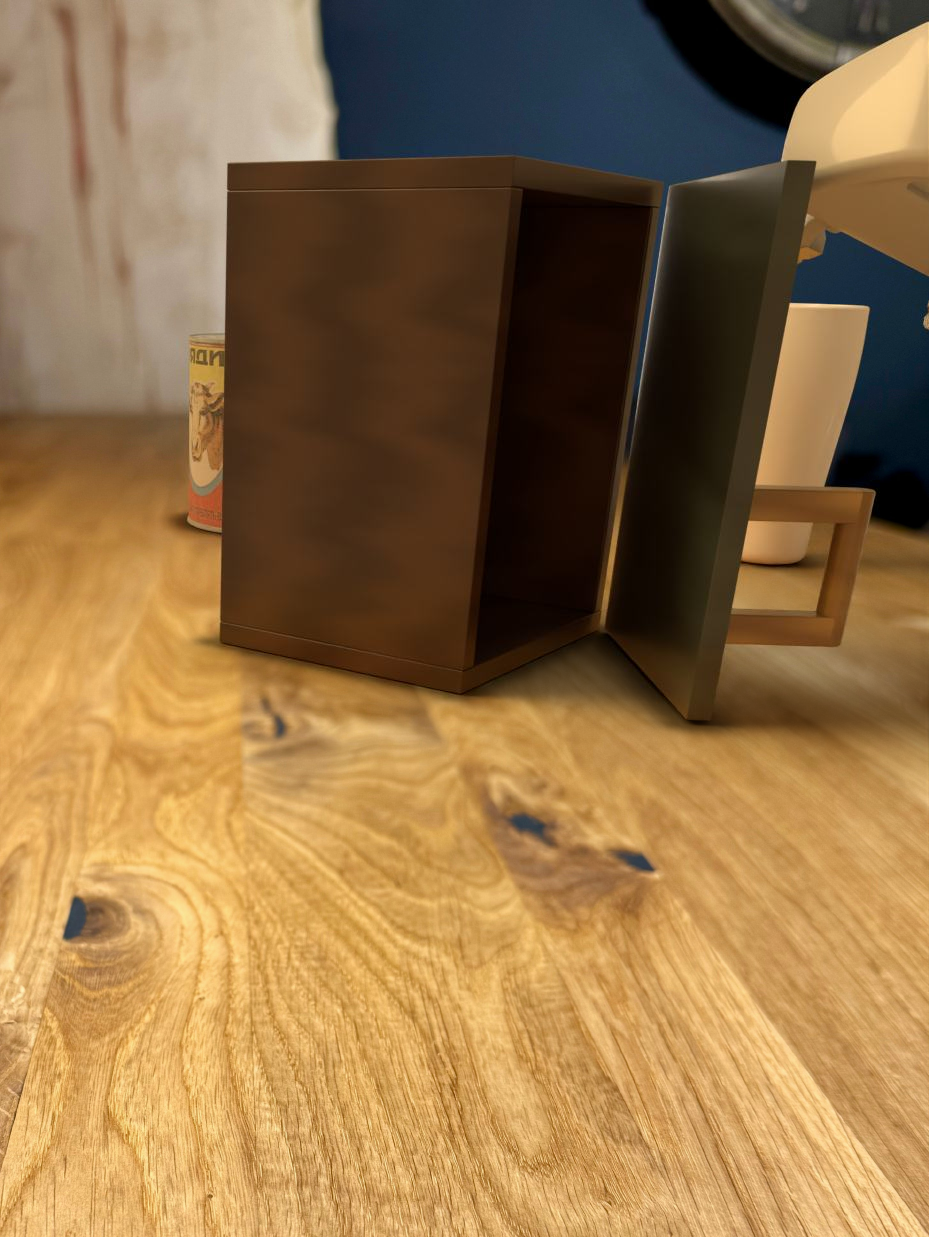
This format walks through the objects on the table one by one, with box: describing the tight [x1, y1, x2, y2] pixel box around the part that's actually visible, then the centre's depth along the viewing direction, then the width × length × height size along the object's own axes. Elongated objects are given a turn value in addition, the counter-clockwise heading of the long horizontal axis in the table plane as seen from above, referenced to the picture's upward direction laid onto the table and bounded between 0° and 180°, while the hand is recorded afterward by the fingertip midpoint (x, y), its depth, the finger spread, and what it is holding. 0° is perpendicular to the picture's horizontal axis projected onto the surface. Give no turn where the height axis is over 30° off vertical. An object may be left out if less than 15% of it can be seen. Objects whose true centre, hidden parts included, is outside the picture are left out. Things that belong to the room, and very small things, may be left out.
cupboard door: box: [603, 160, 877, 721], centre depth 55 cm, size 6×15×20 cm, turn 179°
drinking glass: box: [741, 302, 871, 565], centre depth 82 cm, size 7×7×15 cm
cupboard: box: [219, 154, 665, 695], centre depth 60 cm, size 13×15×20 cm
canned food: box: [187, 332, 225, 534], centre depth 90 cm, size 11×11×12 cm
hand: (861, 279), depth 57 cm, fingers open, 8 cm apart
